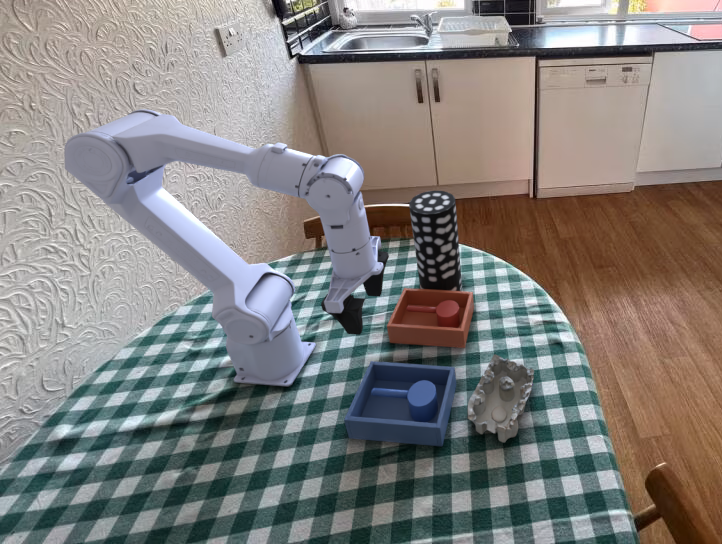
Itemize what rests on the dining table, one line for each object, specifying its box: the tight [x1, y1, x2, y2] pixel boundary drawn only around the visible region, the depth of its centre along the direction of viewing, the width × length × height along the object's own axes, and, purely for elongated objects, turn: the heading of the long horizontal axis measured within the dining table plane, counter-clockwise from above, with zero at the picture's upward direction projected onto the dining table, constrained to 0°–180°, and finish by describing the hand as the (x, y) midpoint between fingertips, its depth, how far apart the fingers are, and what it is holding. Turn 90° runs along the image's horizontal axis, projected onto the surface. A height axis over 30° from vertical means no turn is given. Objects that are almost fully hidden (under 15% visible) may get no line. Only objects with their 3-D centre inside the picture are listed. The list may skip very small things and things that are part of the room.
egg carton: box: [467, 354, 535, 444], centre depth 60 cm, size 11×8×4 cm
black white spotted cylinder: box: [408, 190, 463, 291], centre depth 79 cm, size 8×8×20 cm
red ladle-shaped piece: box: [406, 300, 460, 328], centre depth 74 cm, size 10×4×4 cm, turn 85°
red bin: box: [386, 287, 475, 349], centre depth 74 cm, size 13×9×4 cm
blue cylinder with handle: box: [371, 380, 438, 422], centre depth 60 cm, size 10×4×4 cm, turn 85°
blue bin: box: [343, 360, 457, 447], centre depth 60 cm, size 13×9×4 cm
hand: (365, 312), depth 64 cm, fingers open, 7 cm apart
